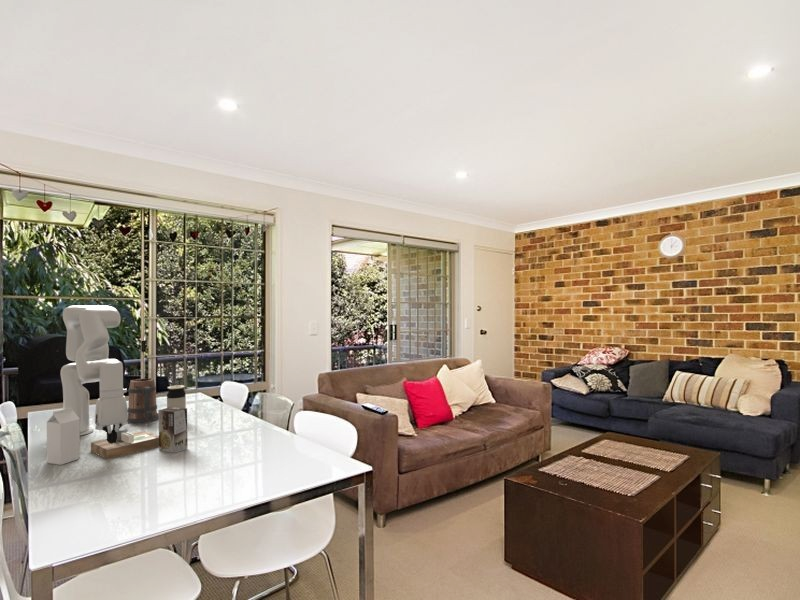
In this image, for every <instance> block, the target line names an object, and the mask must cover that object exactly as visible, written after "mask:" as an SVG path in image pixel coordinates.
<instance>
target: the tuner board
mask: <svg viewBox="0 0 800 600" xmlns="http://www.w3.org/2000/svg"><path fill="white" fill-rule="evenodd" d="M130 433H131V434H134V442H133V443H127V442H124V441H120V442H117V441H116V443H113V444H110V443H108V442H107V438H103V439H100V440H99V439H98V440H95V441H92V442H90V452H92V453H94V454H96V453H97V454H96V455H98V454H99V455H98V456H100V455H101V456H100V457H102V456H103V457H102V458H104V457H105V458H104V459H106V458H107V459H106V460H110V459H115V458H118V457H121V456H122V457H123V456H127V455H130V454H134V453H138V452H143V451H146V450H151V449H154V448H159V434H155V433H152V432H149V431H146V430H140V431H136V432H130Z"/></svg>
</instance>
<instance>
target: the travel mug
mask: <svg viewBox="0 0 800 600" xmlns="http://www.w3.org/2000/svg"><path fill="white" fill-rule="evenodd" d="M167 391H168V392H167V394H166V408H168V407H179V408H186V406H187V405H186V391H185V385H183V384H181V385H179V384H177V385H176V384H175V385H171V386H170V385H169V386H167Z"/></svg>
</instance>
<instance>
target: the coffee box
mask: <svg viewBox="0 0 800 600" xmlns="http://www.w3.org/2000/svg"><path fill="white" fill-rule="evenodd" d="M157 411H158V412H157V413H158V416H159V420H158V436H159V446H158V450H159V451H160V452H166V453H171V454H172V453H173V454H177V453H179V452H183V451H185V450H188V449H189V448H188V446H189V445H188V408H179V407H168V408H167V407H165V408H162V409H158V410H157Z"/></svg>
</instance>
